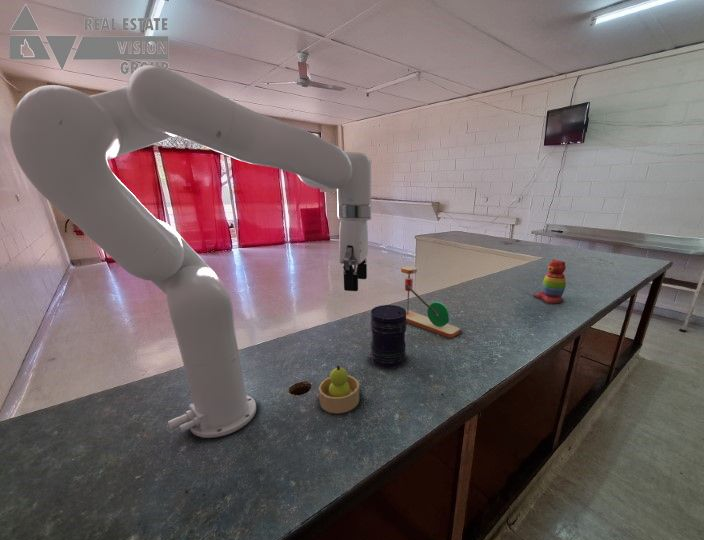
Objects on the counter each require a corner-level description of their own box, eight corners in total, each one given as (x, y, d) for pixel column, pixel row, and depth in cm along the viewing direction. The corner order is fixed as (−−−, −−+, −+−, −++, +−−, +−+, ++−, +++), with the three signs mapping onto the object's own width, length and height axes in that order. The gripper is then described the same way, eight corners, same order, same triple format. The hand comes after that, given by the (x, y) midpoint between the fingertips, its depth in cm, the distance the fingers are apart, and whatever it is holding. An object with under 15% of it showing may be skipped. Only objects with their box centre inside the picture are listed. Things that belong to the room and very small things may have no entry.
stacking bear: (532, 295, 146) (539, 258, 140) (550, 294, 149) (558, 257, 143) (549, 304, 137) (558, 264, 130) (568, 302, 139) (577, 262, 133)
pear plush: (338, 408, 70) (336, 374, 67) (325, 398, 73) (322, 366, 70) (354, 398, 74) (353, 365, 71) (341, 389, 77) (339, 357, 73)
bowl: (337, 419, 68) (336, 404, 66) (312, 401, 73) (310, 386, 72) (367, 399, 74) (367, 385, 73) (342, 383, 80) (341, 370, 78)
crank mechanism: (394, 317, 119) (395, 267, 113) (405, 312, 124) (407, 264, 117) (450, 338, 104) (455, 282, 97) (461, 332, 109) (466, 278, 102)
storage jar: (367, 366, 87) (366, 317, 82) (374, 349, 96) (374, 303, 91) (402, 370, 86) (404, 320, 81) (407, 352, 95) (408, 306, 90)
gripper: (348, 209, 80) (350, 274, 86) (326, 215, 64) (330, 294, 70) (377, 210, 79) (377, 275, 85) (362, 216, 63) (363, 297, 69)
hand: (356, 284), depth 78 cm, fingers open, 9 cm apart
